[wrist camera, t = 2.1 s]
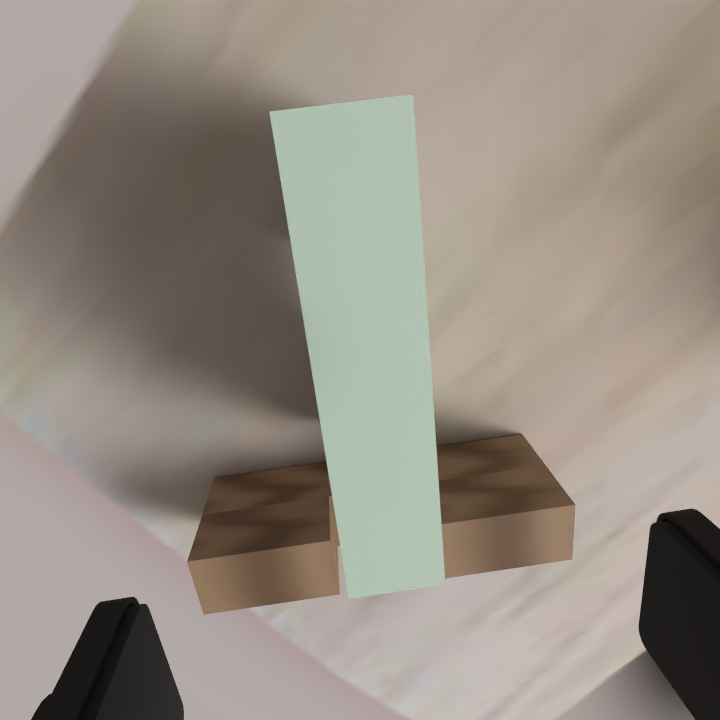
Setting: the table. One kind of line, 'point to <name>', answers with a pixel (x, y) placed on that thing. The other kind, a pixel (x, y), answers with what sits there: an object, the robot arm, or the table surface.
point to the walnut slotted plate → (320, 534)
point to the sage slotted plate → (367, 331)
